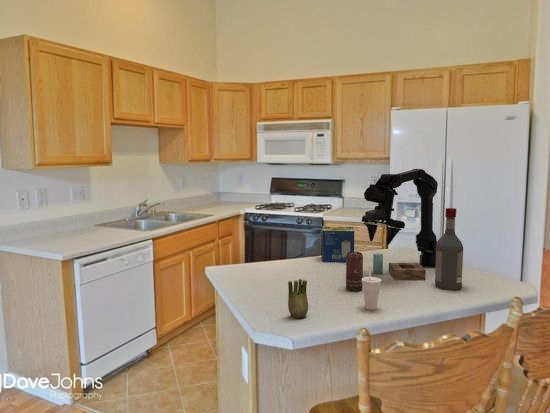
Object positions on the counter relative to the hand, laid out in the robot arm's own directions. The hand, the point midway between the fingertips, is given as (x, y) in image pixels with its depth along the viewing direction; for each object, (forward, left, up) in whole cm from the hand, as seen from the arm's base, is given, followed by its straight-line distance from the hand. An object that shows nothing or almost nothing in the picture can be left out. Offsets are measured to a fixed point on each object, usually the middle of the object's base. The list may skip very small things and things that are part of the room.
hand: (379, 242), depth 165 cm
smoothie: (+9, +32, -15) cm, 37 cm away
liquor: (-24, +9, -15) cm, 30 cm away
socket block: (-12, -5, -15) cm, 20 cm away
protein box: (+14, -31, -15) cm, 37 cm away
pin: (-1, -9, -15) cm, 17 cm away
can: (+12, +13, -15) cm, 23 cm away
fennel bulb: (+33, +40, -15) cm, 54 cm away
